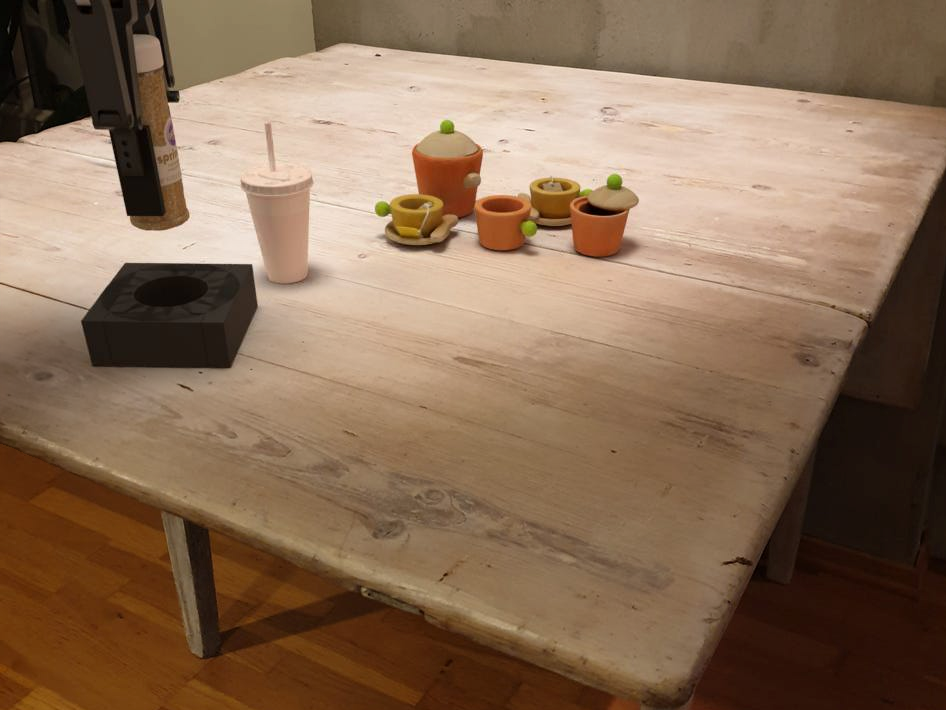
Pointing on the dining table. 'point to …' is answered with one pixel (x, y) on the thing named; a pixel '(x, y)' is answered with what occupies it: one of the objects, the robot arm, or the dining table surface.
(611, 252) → the toy tea set
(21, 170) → the dining table surface
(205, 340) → the socket pad
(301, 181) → the smoothie
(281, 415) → the dining table surface
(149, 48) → the sprinkles bottle
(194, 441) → the dining table surface
